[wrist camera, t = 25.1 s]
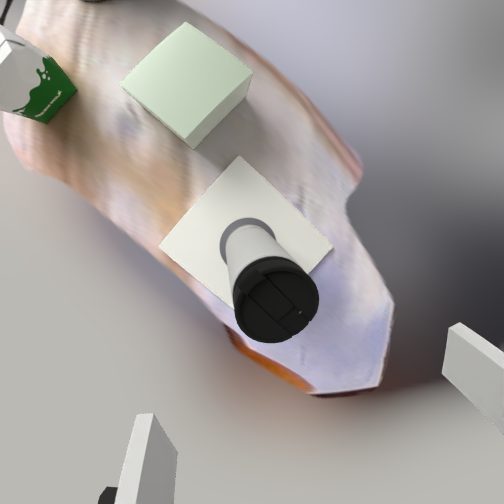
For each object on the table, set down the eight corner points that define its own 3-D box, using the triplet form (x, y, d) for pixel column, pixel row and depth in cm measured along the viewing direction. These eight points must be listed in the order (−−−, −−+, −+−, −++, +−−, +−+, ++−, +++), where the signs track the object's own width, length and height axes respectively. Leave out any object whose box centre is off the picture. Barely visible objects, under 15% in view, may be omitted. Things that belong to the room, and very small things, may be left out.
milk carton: (60, 58, 30) (-12, 9, 11) (85, 90, 32) (6, 42, 13) (23, 99, 31) (-58, 73, 11) (45, 133, 33) (-46, 115, 14)
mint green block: (141, 105, 34) (118, 84, 24) (192, 55, 33) (185, 21, 23) (193, 150, 36) (184, 139, 27) (245, 97, 36) (253, 71, 26)
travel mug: (248, 212, 38) (282, 244, 19) (281, 248, 40) (339, 309, 20) (213, 244, 38) (211, 308, 19) (247, 279, 40) (275, 364, 21)
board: (159, 245, 39) (157, 246, 38) (238, 155, 37) (239, 154, 36) (255, 323, 43) (256, 327, 42) (331, 244, 42) (334, 246, 40)
